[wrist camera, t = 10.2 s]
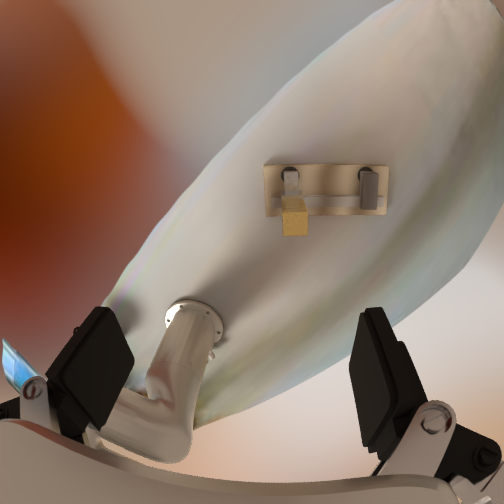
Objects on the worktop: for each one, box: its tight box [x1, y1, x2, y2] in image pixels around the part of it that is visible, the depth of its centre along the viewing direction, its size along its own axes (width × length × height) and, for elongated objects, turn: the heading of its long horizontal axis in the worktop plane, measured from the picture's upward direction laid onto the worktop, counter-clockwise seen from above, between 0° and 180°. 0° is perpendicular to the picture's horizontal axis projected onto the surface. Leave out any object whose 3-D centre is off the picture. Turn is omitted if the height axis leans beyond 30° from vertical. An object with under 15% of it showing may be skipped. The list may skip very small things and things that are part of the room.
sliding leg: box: [281, 171, 308, 236], centre depth 37 cm, size 3×7×10 cm, turn 4°
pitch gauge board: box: [263, 164, 389, 217], centre depth 41 cm, size 20×8×4 cm, turn 94°
